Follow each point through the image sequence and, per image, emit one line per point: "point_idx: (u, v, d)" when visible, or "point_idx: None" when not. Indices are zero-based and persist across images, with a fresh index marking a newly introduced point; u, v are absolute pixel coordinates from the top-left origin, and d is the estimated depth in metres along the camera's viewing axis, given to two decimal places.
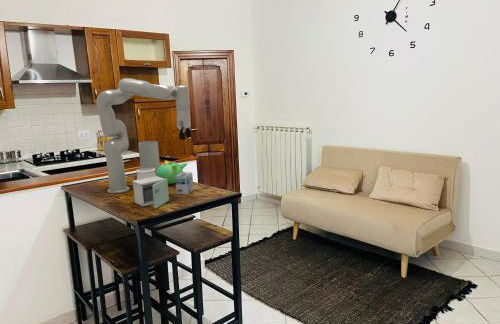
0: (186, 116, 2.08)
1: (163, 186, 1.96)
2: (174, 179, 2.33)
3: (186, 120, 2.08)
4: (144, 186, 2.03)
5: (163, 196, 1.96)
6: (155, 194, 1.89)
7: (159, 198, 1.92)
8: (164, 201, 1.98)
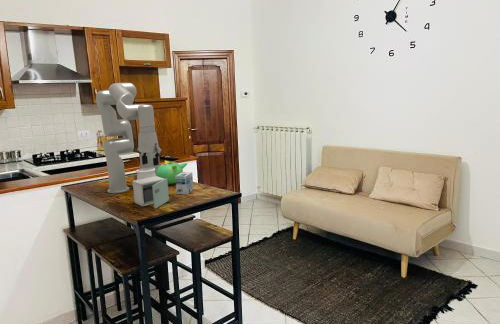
0: None
1: (163, 186, 1.96)
2: (174, 179, 2.33)
3: None
4: (144, 186, 2.03)
5: (163, 196, 1.96)
6: (155, 194, 1.89)
7: (159, 198, 1.92)
8: (164, 201, 1.98)
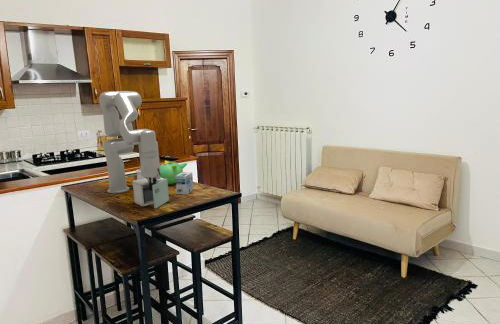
0: None
1: (163, 186, 1.96)
2: (174, 179, 2.33)
3: None
4: (144, 186, 2.03)
5: (163, 196, 1.96)
6: (155, 194, 1.89)
7: (159, 198, 1.92)
8: (164, 201, 1.98)
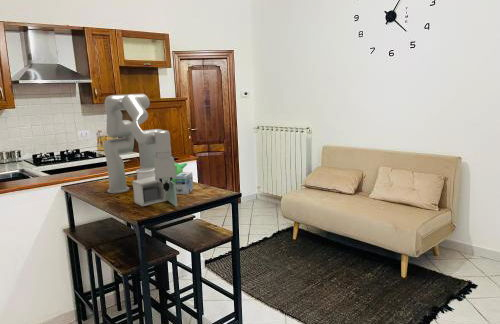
0: None
1: None
2: (174, 179, 2.33)
3: None
4: (144, 186, 2.03)
5: None
6: None
7: None
8: None
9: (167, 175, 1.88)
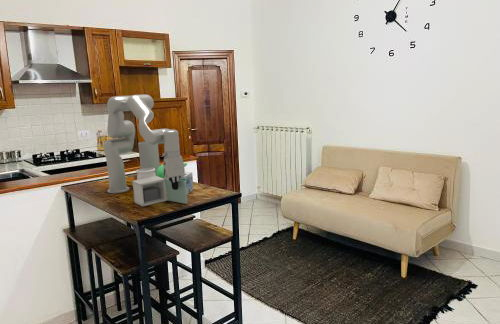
0: None
1: None
2: None
3: None
4: (144, 186, 2.03)
5: None
6: None
7: None
8: None
9: (178, 173, 1.90)
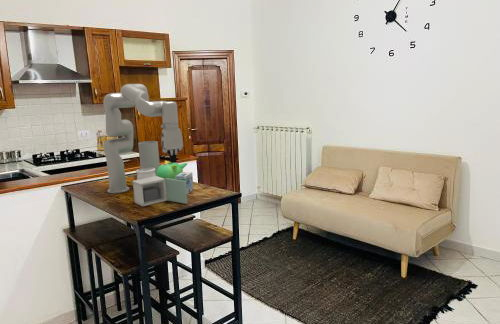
0: None
1: None
2: None
3: None
4: (144, 186, 2.03)
5: None
6: None
7: None
8: None
9: (176, 146, 1.88)
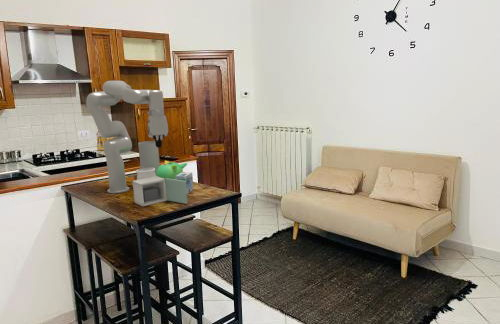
0: None
1: None
2: None
3: None
4: (144, 186, 2.03)
5: None
6: None
7: None
8: None
9: (161, 132, 2.02)
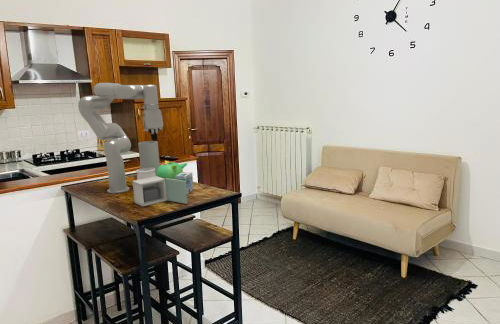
0: None
1: None
2: None
3: None
4: (144, 186, 2.03)
5: None
6: None
7: None
8: None
9: (156, 125, 2.07)
